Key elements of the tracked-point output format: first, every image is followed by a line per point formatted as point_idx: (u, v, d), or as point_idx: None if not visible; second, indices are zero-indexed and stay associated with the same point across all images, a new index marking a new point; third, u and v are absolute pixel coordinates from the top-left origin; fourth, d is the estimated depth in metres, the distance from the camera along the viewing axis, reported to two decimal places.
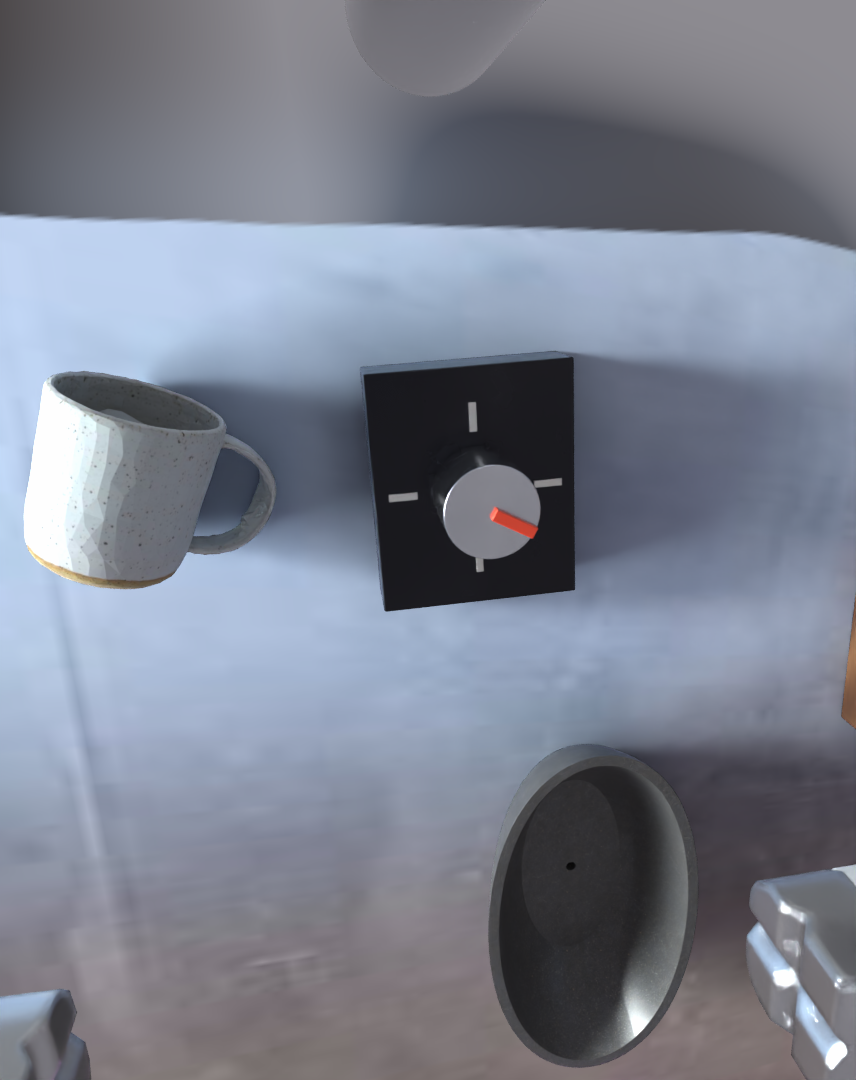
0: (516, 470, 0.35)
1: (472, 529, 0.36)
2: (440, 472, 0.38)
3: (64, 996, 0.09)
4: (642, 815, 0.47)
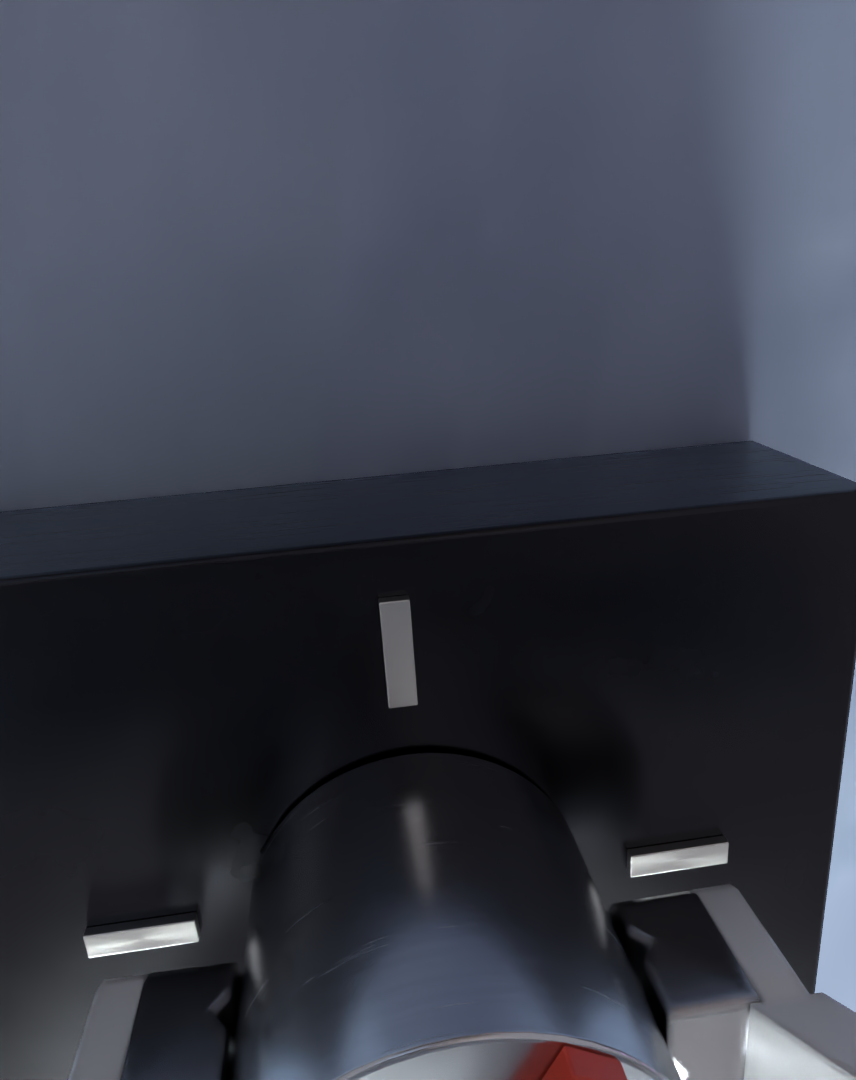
0: None
1: None
2: None
3: (238, 969, 0.09)
4: None
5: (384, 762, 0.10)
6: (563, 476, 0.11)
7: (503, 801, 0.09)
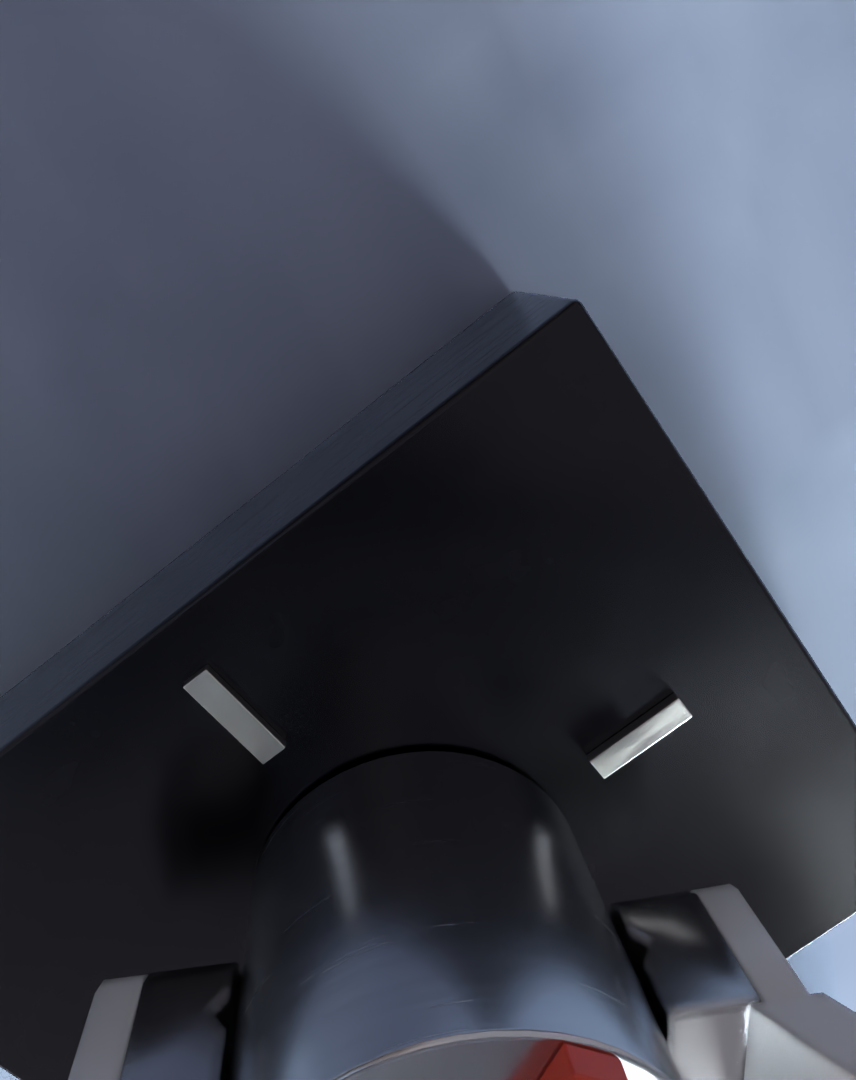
0: None
1: None
2: None
3: (237, 969, 0.09)
4: None
5: (384, 761, 0.10)
6: (329, 452, 0.11)
7: (503, 799, 0.09)
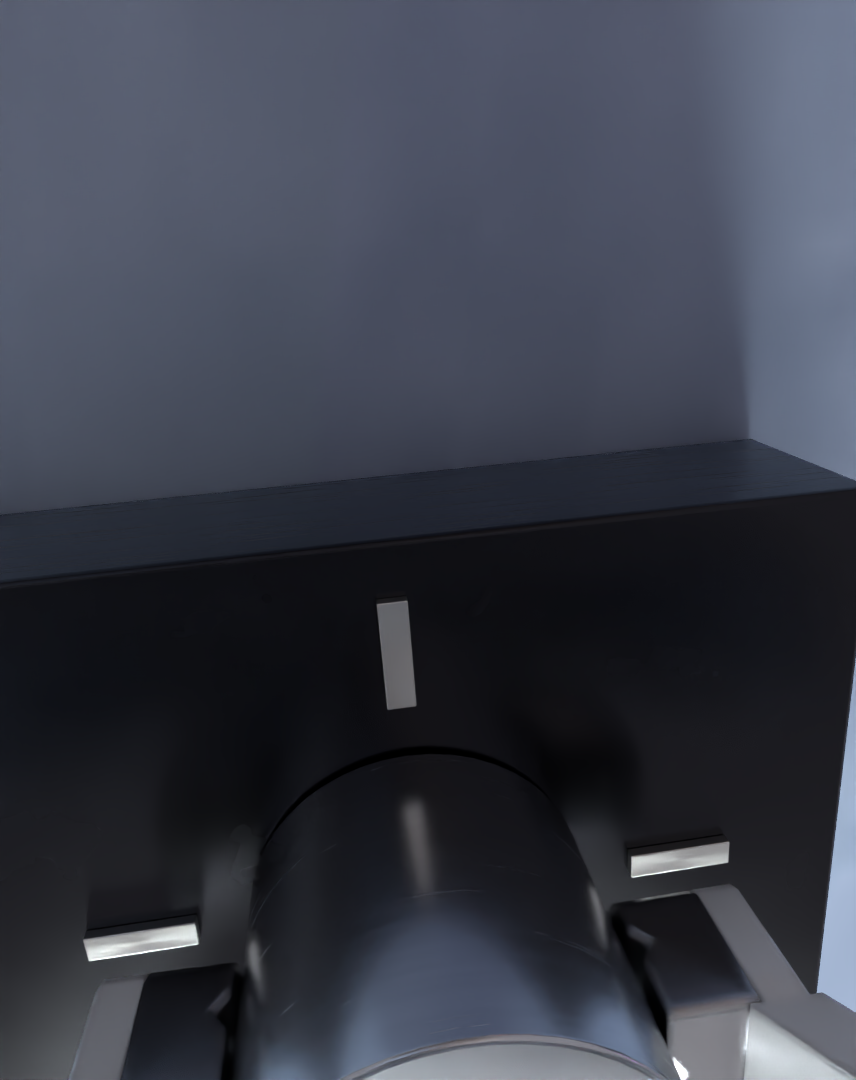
0: (468, 1039, 0.06)
1: None
2: None
3: (238, 969, 0.09)
4: None
5: (546, 798, 0.10)
6: (561, 476, 0.11)
7: None
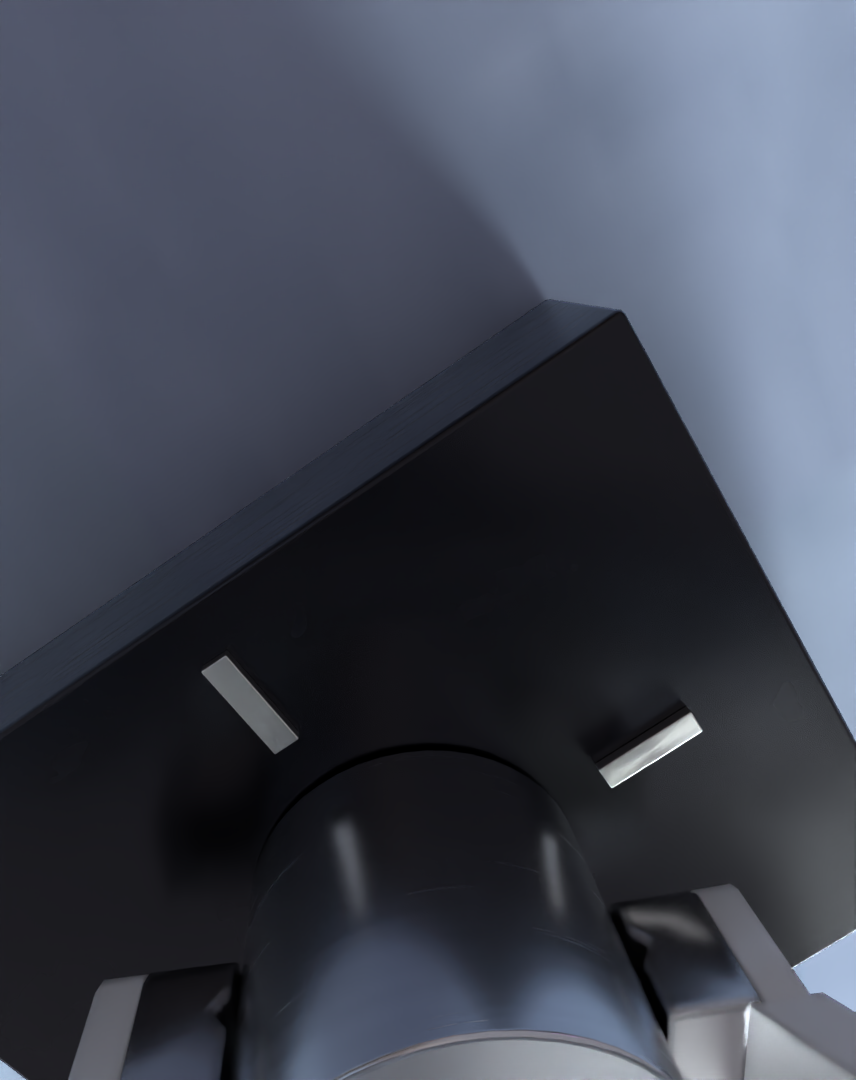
0: (465, 1036, 0.06)
1: None
2: None
3: (237, 969, 0.09)
4: None
5: (546, 794, 0.10)
6: (357, 446, 0.11)
7: None
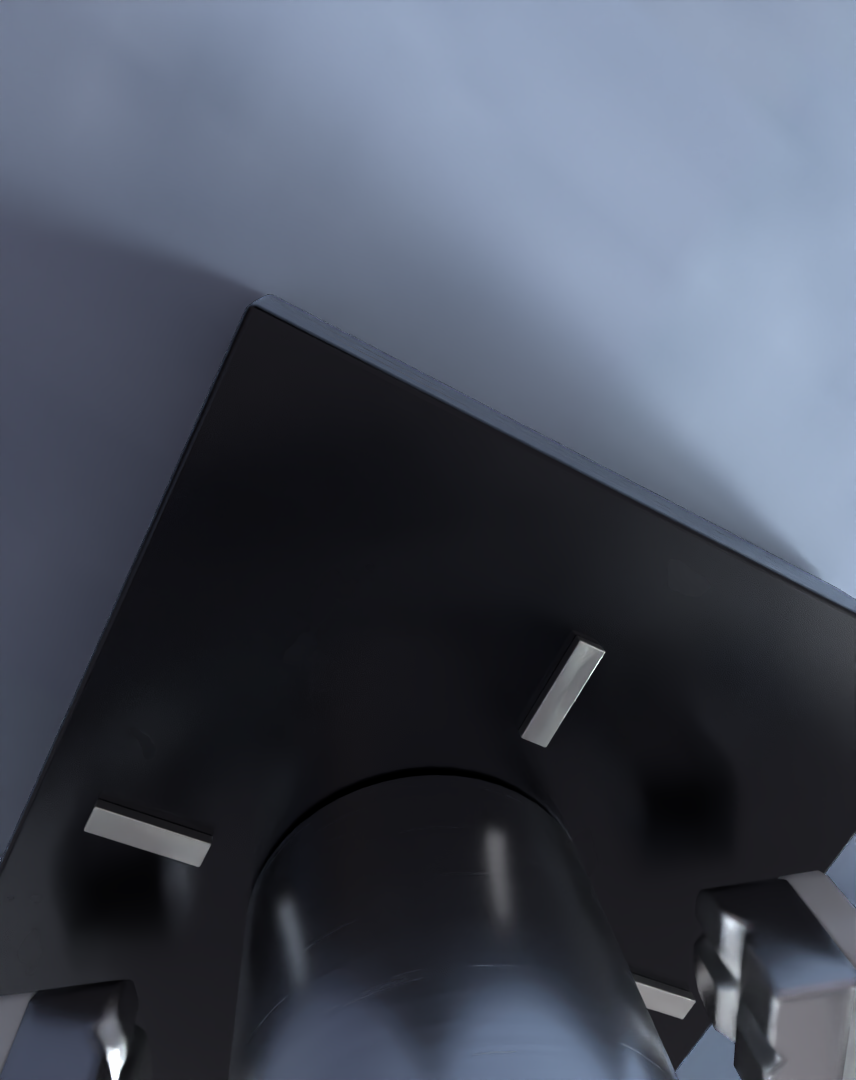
0: None
1: None
2: None
3: (129, 986, 0.09)
4: None
5: (408, 781, 0.09)
6: None
7: (530, 835, 0.09)
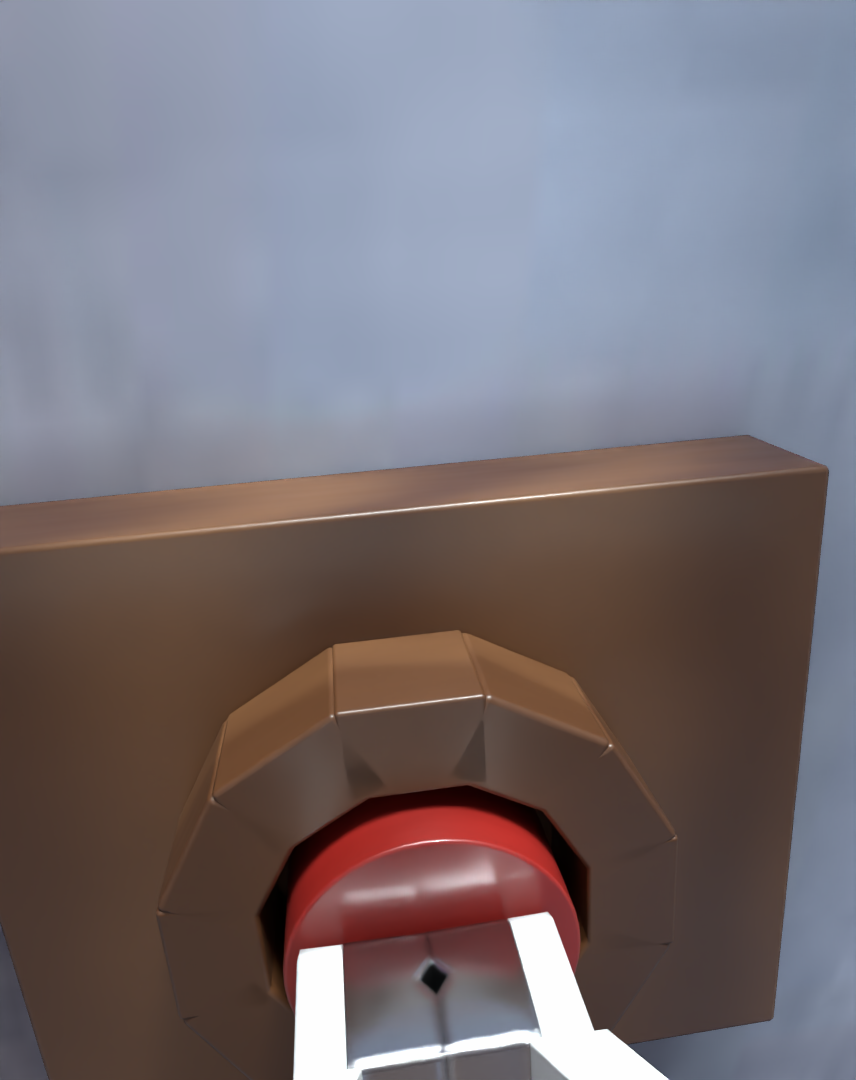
0: None
1: None
2: None
3: None
4: None
5: None
6: None
7: None
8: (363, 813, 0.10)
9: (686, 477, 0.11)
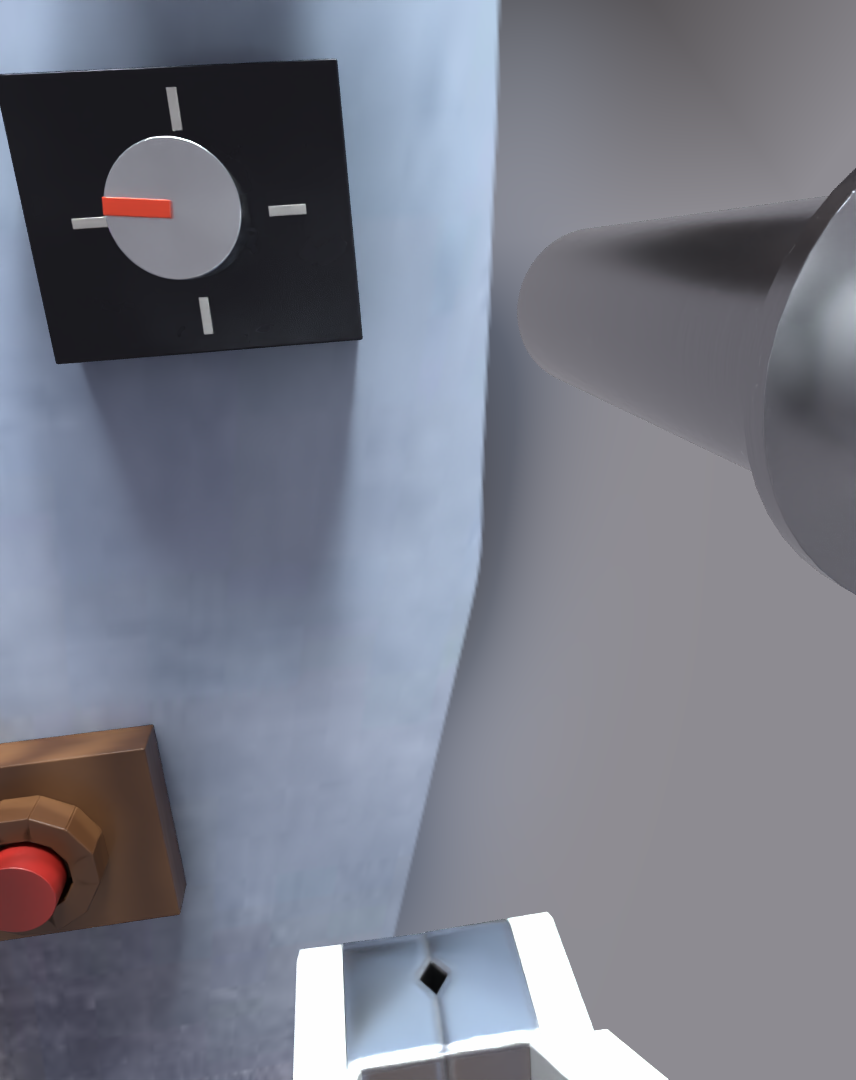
0: (174, 278, 0.27)
1: (186, 176, 0.26)
2: (249, 223, 0.30)
3: None
4: None
5: None
6: None
7: None
8: None
9: (102, 752, 0.38)
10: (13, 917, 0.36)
